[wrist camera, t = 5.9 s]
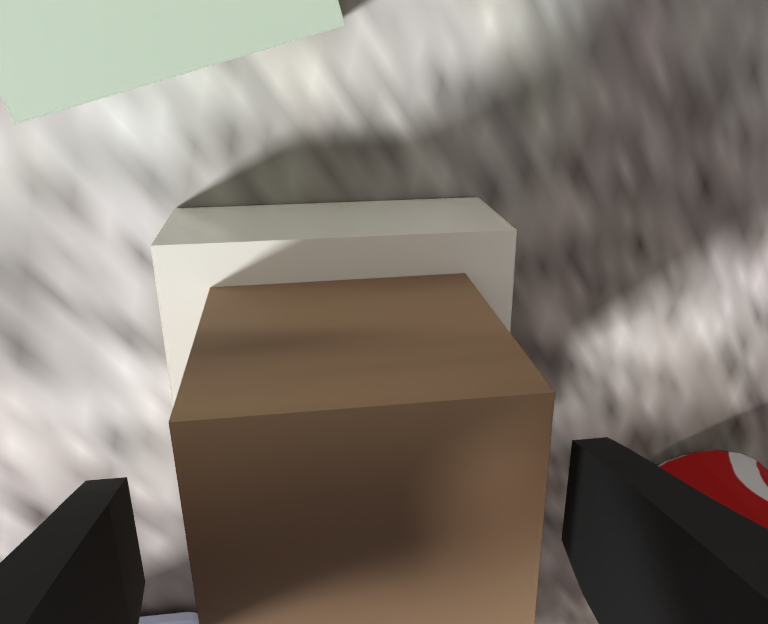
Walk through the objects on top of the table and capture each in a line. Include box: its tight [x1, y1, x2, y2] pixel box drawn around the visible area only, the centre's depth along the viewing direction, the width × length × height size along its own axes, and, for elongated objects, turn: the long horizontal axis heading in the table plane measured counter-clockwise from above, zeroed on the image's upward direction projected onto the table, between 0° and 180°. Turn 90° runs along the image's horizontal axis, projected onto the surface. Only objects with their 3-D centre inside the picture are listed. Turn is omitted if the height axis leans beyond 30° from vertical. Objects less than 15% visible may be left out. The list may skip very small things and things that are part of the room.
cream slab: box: [151, 197, 517, 407], centre depth 16 cm, size 7×7×3 cm
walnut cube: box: [169, 273, 555, 624], centre depth 12 cm, size 5×5×5 cm
